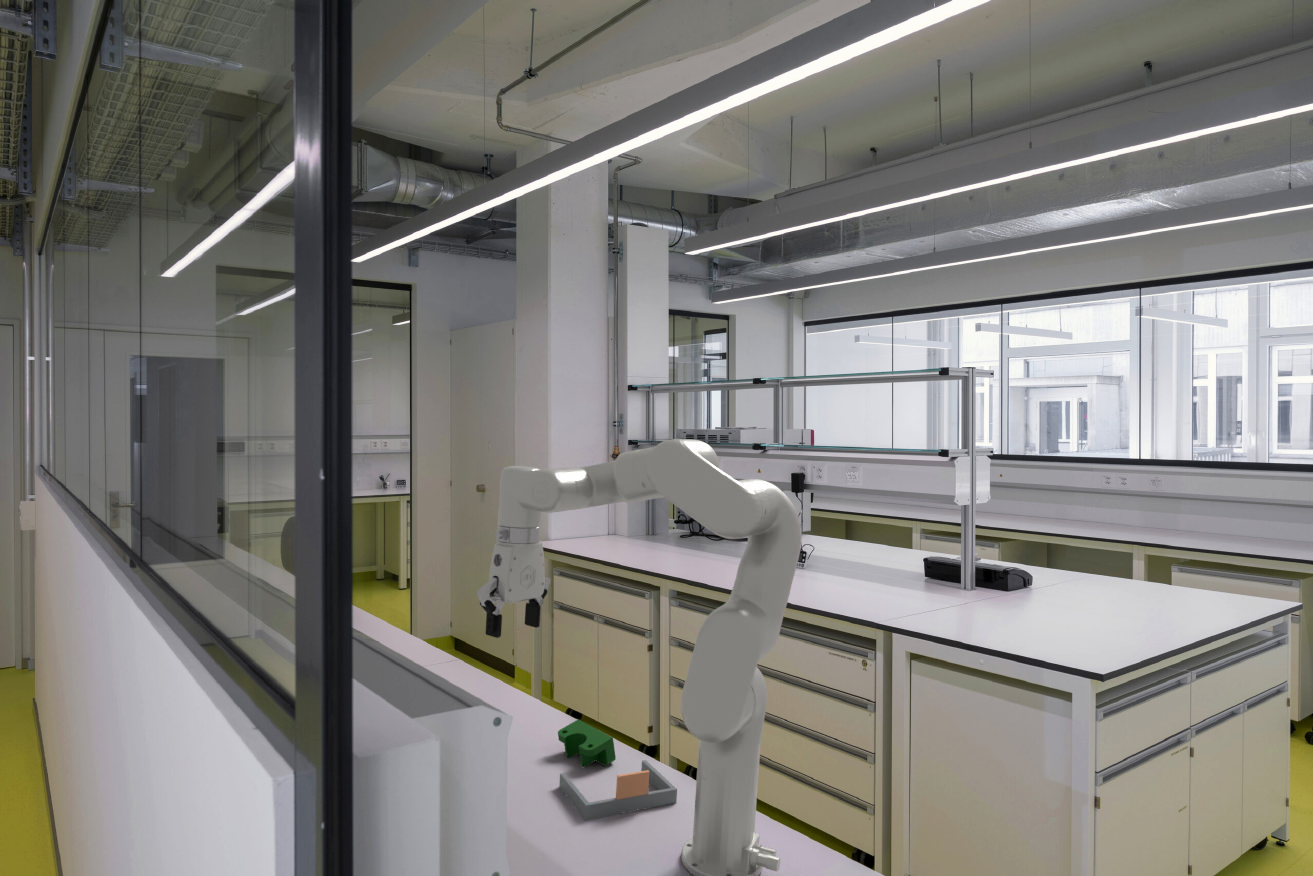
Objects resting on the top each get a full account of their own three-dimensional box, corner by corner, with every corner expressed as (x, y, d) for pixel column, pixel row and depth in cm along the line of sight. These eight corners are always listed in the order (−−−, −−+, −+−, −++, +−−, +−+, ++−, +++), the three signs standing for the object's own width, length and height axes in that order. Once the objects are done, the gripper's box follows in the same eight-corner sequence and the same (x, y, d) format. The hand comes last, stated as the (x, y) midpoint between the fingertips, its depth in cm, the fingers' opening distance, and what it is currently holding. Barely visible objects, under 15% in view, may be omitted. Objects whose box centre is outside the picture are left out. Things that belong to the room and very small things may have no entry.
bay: (559, 787, 143) (561, 752, 143) (644, 772, 151) (646, 739, 151) (585, 820, 132) (587, 782, 132) (676, 803, 140) (678, 767, 140)
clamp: (566, 776, 158) (550, 733, 159) (589, 762, 162) (574, 719, 163) (598, 775, 149) (580, 729, 150) (621, 760, 153) (604, 715, 154)
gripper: (498, 542, 130) (492, 644, 130) (566, 534, 144) (561, 626, 144) (467, 536, 134) (461, 635, 134) (536, 529, 148) (531, 618, 148)
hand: (513, 631), depth 139 cm, fingers open, 9 cm apart
